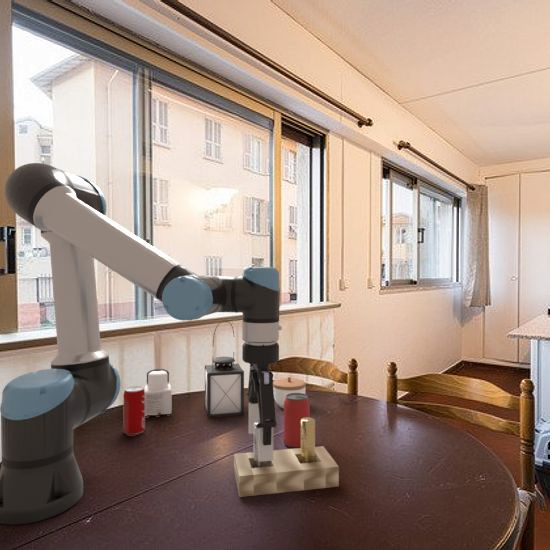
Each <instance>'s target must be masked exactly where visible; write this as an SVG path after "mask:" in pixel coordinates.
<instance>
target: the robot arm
mask: <svg viewBox="0 0 550 550" xmlns="http://www.w3.org/2000/svg"><path fill="white" fill-rule="evenodd" d="M4 185H5V186H4V195H5V196H4V197H5V200H6V202H7V205H8V206H9V207H10V209H11V210H12V211H13V212H14V214H16V215H17V216H18V217H20V218H21V219H23V220H24V221H26V222H27V223H29V224H31V226H34V227H35V228H37V229H38V230H40V237H42V238H43V240H45V241H46V242H48V244H49V253H50V254H49V255H50V266H51V267H50V268H51V278H52V279H51V280H52V291H53V305H54V307H53V308H54V317H55V331H56V333H55V334H56V344H57V346H56V347H57V355H56V356H55V357H53V359H52V360H51V361H50V368H47V369H46V368H45V369H40V370H37V371H34V372H33V371H30V372H27V373H24V374H21V375H19V376H17V377H15V378H13V379H12V380H10V381H8V383H7V384H6V385H5V386H4V387H3V389H2V392H1V402H0V425H1V426H0V431H1V433H0V436H1V438H0V440H1V445H0V446H1V447H0V448H1V467H0V524H3V525H25V524H32V523H35V522H37V523H38V522H41V521H44V520H47V519H50V518H53V517H55V516H57V515H59V514H62V513H64V512H65V511H67V510H69V509H71V508H72V507H74V505H76V504H77V503H78V502H79V501H80V500H81V499H82V496H83V495H84V480H83V479H84V478H83V476H82V473H81V470H80V467H79V465H78V463H77V460H76V457H75V454H74V430H75V429H76V428H78V427H80V426H81V425H83V424H86V423H87V422H89V421H90V420H92V419H94V418H95V417H98V416H100V415H102V414H103V413H104V412H106V411H107V410H108V409H109V408H110V407H112V405H114V403H115V402H116V400H117V399H118V397H119V393H120V392H121V391H120V390H121V377H120V374H119V372H118V370H117V368H115V367H114V365H113V364H112V363H111V362H110V356H109V353H108V352H107V351H106V350H104V349H103V348H102V344H101V334H100V321H99V320H100V319H99V318H100V317H99V308H98V307H99V306H98V296H97V282H96V280H97V279H96V268H95V260H96V261H98V262H99V263H101V264H102V265H104V266H106V267H107V268H108V269H110V270H111V271H113V272H115V273H116V274H118V275H119V276H121V277H122V278H123V279H126V280H127V281H128V282H130V283H132V284H133V285H135V286H136V287H138V288H140V289H141V290H142V291H144V292H146V293H147V294H148V295H150V296H152V297H153V298H154V299H156V300H157V301H160V303H162V305H163V308H164V310H165V311H166V313H167V314H168V315H169V316H170V317H172V318H173V319H175V320H179V321H194V320H199V319H201V318H203V317H205V316H208V315H209V316H210V315H213V314H215V313H242V321H241V322H242V325H241V326H242V329H241V331H242V333H241V338H242V341H243V344H242V353H241V356H242V357H241V358H242V361H243V362H245V363H246V364H249V373H248V385H247V394H246V395H247V397H248V398H247V399H248V435H252V434H253V423H254V422H255V421H260V423H257V426H256V427H257V428H259V449H258V460H259V462H260V461H272V460H273V450H274V428H276V427H277V419H276V407H275V398H274V391H273V381H274V374H273V372H272V371H270V368H269V366H270V365H271V364H275V363H277V362H278V361H279V360H280V344H279V343H278V341H279V339H280V331H281V330H282V328H283V326H282V325H281V324H280V304H281V303H280V300H281V298H280V297H281V294H280V293H281V288H280V272H279V270H278V269H277V268H275V267H273V266H246V267H245V266H244V268H243V271H242V275H237V276H226V275H198V274H196V273H195V272H194V271H192V270H191V269H189V268H187V267H185V266H184V265H182V264H181V263H179V262H178V261H176V260H175V259H173V258H171V257H170V256H169V255H167V254H165V253H164V252H162V251H161V250H159V249H157V248H156V247H155V246H153V245H151V244H150V243H148V242H146V241H145V240H144V239H142V238H140V237H138V236H137V235H135V234H134V233H132V232H130V231H129V230H128V229H126V228H125V227H123V226H121V225H120V224H118V223H117V222H115V221H113V220H112V219H110V218H108V217H107V216H106V215H107V209H108V208H107V206H108V205H107V199H106V197H105V194H104V193H103V192H102V189H100V188H99V187H98V186H97V185H96V184H95V183H93V182H92V181H90V180H88V179H87V178H85V177H83V176H81V175H77V174H72V173H70V172H68V171H65V170H62V169H59V168H57V167H55V166H52V165H49V164H47V163H39V162H32V163H31V162H30V163H25V164H23V165H20V166H18V167H17V168H15V169H14V170H13V171H12V172H11V173H10V174H9V175H8V177H7V179H6V181H5V184H4Z"/></svg>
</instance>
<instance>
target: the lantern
mask: <svg viewBox="0 0 550 550" xmlns="http://www.w3.org/2000/svg"><path fill="white" fill-rule="evenodd" d="M223 322H224V323H226V322H227V323H229V324H230V326H231V328H232V333H233V336H235V330H234V328H233V327H234V326H233V325H232V323H231V322H230V321H228V320H223V321H220V322H218V324H217V325H216V327H215V328H214V333H213V337H212V338H213V340H212V346H214V345H215V344H214V341H215V334H216V330H217V328H218V327H219V325H220V324H221V323H223ZM235 361H236V359H235V353H233V357H232V356H218V357H215V358H213V359H212V364H205V365H204V407H205V406H206V407H205V411H206V410H207V411H206V418H207V417H210V418H219V417H218V416H221V417H230V416H231V417H232V415H234V416H244V415H245V370H243V368H242V367H241V366H240V363H235Z"/></svg>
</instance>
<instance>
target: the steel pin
mask: <svg viewBox="0 0 550 550" xmlns="http://www.w3.org/2000/svg"><path fill="white" fill-rule="evenodd" d="M257 423H260V421H255V422H254V423H253V438H252V439H253V440H252V441H253V444H252V445H253V447H252V449H253V468H259V467H268V461H260V462H259V460H258V449H259V428H257V427H256V426H257Z"/></svg>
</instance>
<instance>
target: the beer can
mask: <svg viewBox="0 0 550 550" xmlns="http://www.w3.org/2000/svg"><path fill="white" fill-rule="evenodd" d="M310 405H311V404H310V400H309V396H308V395H307V394H306V393H305V394H302V393H290V394H287V395H286V399H285V401H284V409H283V443H284V444H285V446H287V447H288V448H291V449H296V448H301V419H302V418H305V417H309V418H311V406H310Z"/></svg>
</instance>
